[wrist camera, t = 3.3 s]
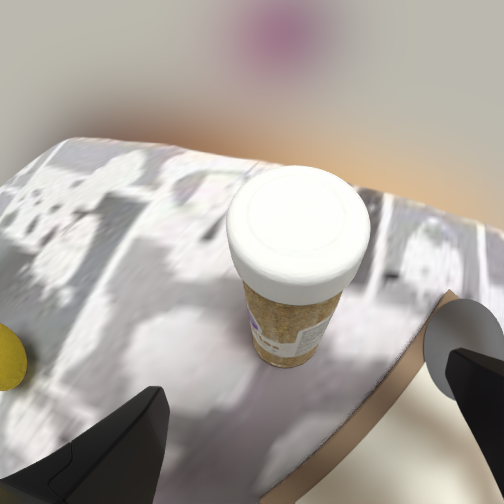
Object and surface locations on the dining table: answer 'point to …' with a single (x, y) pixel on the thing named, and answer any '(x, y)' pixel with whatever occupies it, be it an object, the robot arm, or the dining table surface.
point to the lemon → (11, 359)
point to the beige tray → (408, 428)
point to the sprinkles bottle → (295, 255)
